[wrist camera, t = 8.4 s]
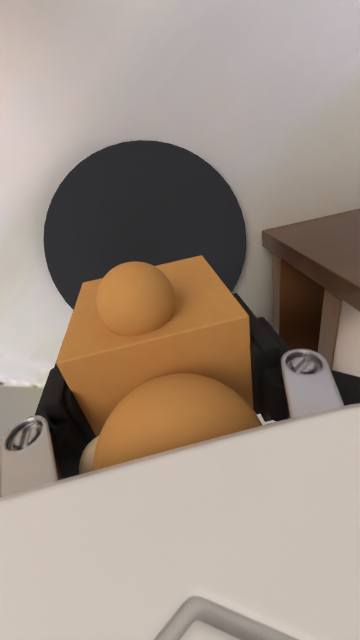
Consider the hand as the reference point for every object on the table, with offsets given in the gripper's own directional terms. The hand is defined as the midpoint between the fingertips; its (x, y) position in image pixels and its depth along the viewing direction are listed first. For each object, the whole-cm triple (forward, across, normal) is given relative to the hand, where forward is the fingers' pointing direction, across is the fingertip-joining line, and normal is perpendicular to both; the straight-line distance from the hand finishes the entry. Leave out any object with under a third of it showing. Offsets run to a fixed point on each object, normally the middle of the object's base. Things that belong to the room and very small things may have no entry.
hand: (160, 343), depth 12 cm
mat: (+12, 0, 0) cm, 12 cm away
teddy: (+3, 0, 0) cm, 3 cm away
